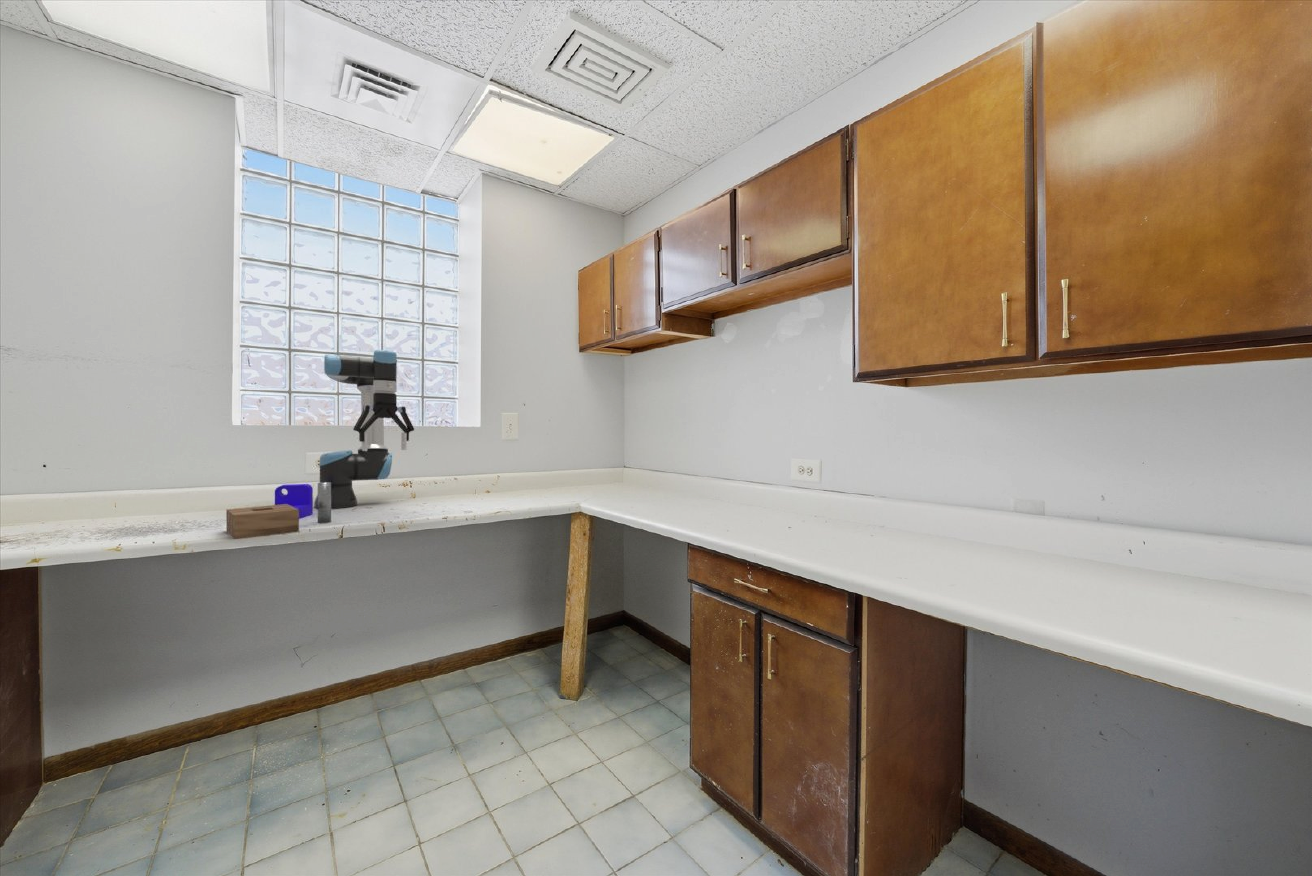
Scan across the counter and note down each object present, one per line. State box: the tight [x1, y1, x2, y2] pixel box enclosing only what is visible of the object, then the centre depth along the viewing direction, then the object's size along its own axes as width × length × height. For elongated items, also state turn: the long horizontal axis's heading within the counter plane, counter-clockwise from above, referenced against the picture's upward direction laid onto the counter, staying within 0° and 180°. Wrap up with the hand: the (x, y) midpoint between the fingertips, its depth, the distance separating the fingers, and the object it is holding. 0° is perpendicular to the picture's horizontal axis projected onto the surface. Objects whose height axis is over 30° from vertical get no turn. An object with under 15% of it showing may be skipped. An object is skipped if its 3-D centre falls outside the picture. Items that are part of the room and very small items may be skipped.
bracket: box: [274, 483, 314, 520], centre depth 181 cm, size 18×11×12 cm, turn 25°
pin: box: [317, 481, 332, 524], centre depth 175 cm, size 4×4×14 cm
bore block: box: [225, 504, 300, 540], centre depth 159 cm, size 16×16×7 cm
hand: (384, 450), depth 182 cm, fingers open, 13 cm apart
